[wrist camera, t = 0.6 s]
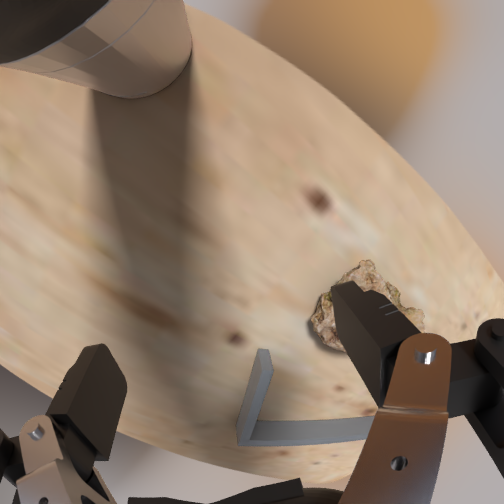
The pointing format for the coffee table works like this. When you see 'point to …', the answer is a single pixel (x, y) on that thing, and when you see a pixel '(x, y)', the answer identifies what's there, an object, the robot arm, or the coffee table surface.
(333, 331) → the rock
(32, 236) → the coffee table surface
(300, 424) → the bracket
